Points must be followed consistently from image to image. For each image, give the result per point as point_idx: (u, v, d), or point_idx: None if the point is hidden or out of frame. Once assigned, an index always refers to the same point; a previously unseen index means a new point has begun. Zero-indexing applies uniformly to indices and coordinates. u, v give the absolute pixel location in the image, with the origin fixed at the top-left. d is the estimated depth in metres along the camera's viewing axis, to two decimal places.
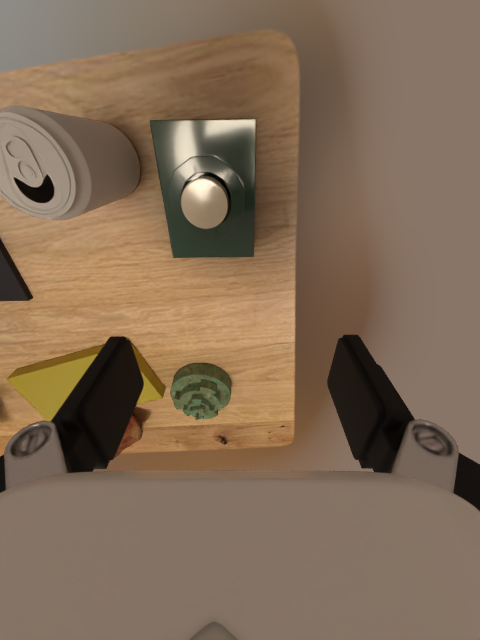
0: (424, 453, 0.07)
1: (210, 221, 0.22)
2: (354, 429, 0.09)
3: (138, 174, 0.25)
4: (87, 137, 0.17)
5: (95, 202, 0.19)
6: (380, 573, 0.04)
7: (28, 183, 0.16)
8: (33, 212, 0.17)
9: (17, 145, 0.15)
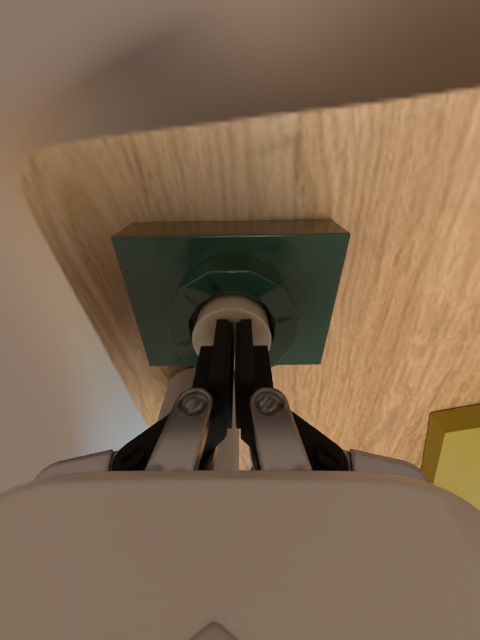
0: (270, 417, 0.07)
1: (259, 335, 0.12)
2: None
3: None
4: None
5: None
6: (380, 573, 0.04)
7: None
8: None
9: None
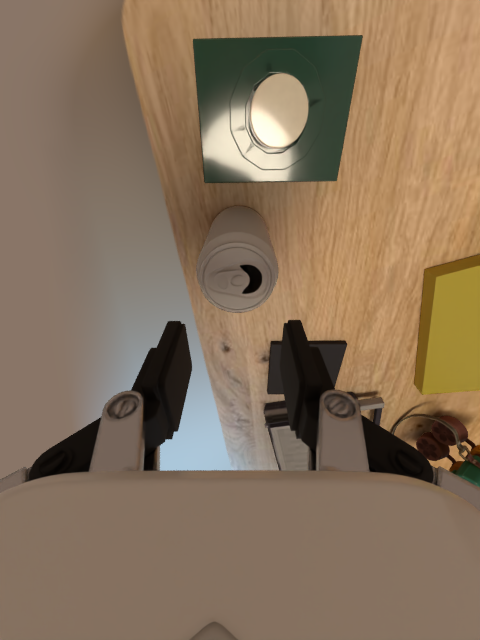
0: (337, 420, 0.07)
1: (299, 104, 0.17)
2: (290, 404, 0.10)
3: (248, 208, 0.25)
4: (215, 231, 0.20)
5: (266, 239, 0.19)
6: (380, 573, 0.04)
7: (247, 283, 0.19)
8: (269, 290, 0.19)
9: (220, 280, 0.19)
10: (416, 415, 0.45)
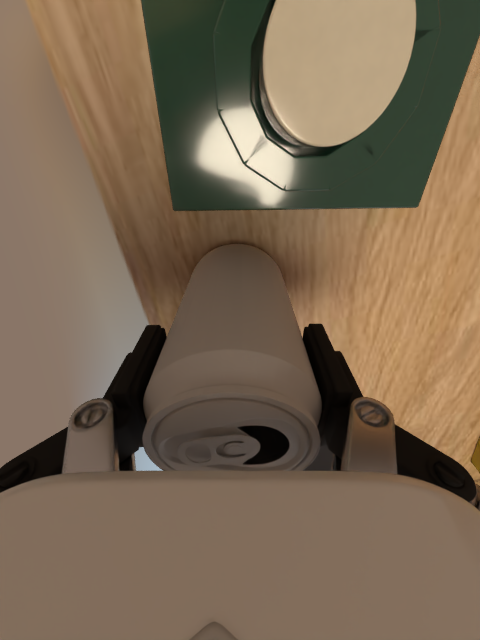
0: (368, 428, 0.07)
1: (393, 32, 0.06)
2: None
3: (252, 248, 0.15)
4: (186, 324, 0.09)
5: (295, 345, 0.09)
6: (380, 573, 0.04)
7: (254, 452, 0.08)
8: (303, 461, 0.08)
9: (193, 447, 0.08)
10: None
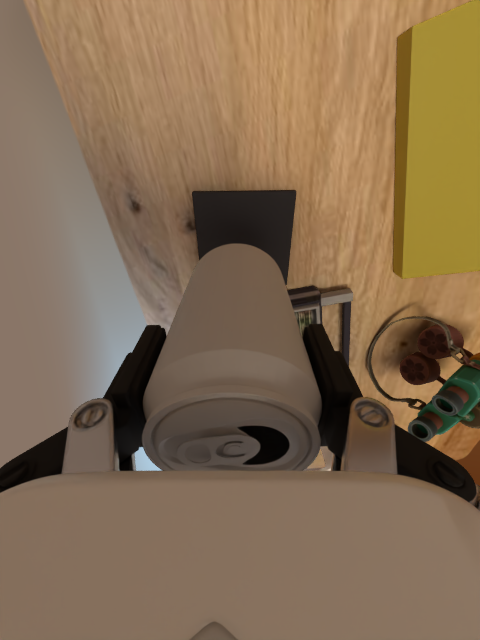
0: (368, 428, 0.07)
1: None
2: None
3: (252, 248, 0.15)
4: (186, 323, 0.09)
5: (295, 345, 0.09)
6: (380, 573, 0.04)
7: (253, 452, 0.08)
8: (303, 461, 0.08)
9: (192, 447, 0.08)
10: (397, 320, 0.35)
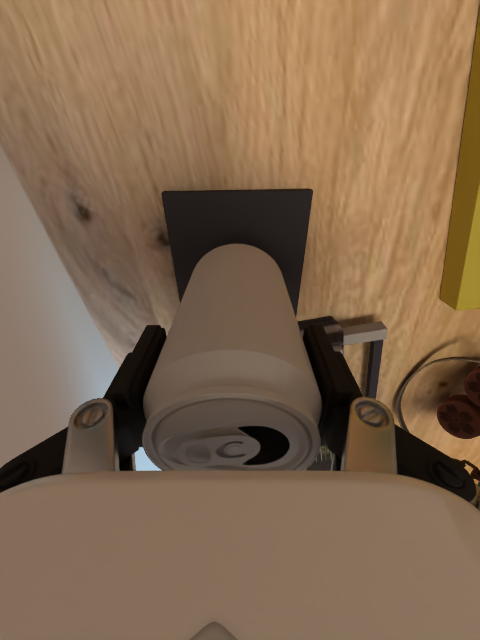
0: (368, 428, 0.07)
1: None
2: None
3: (252, 248, 0.15)
4: (186, 324, 0.09)
5: (295, 345, 0.09)
6: (380, 573, 0.04)
7: (254, 452, 0.08)
8: (303, 462, 0.08)
9: (193, 447, 0.08)
10: (441, 360, 0.26)
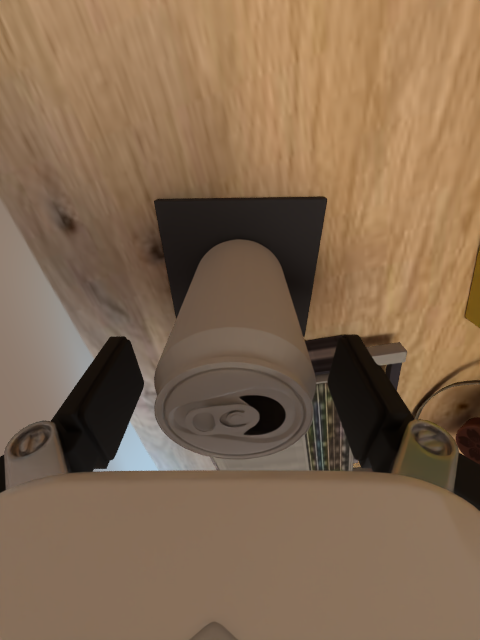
0: (424, 452, 0.07)
1: None
2: (354, 429, 0.09)
3: (254, 243, 0.16)
4: (193, 308, 0.10)
5: (292, 327, 0.10)
6: (380, 573, 0.04)
7: (254, 422, 0.09)
8: (298, 431, 0.09)
9: (199, 416, 0.09)
10: (463, 383, 0.24)
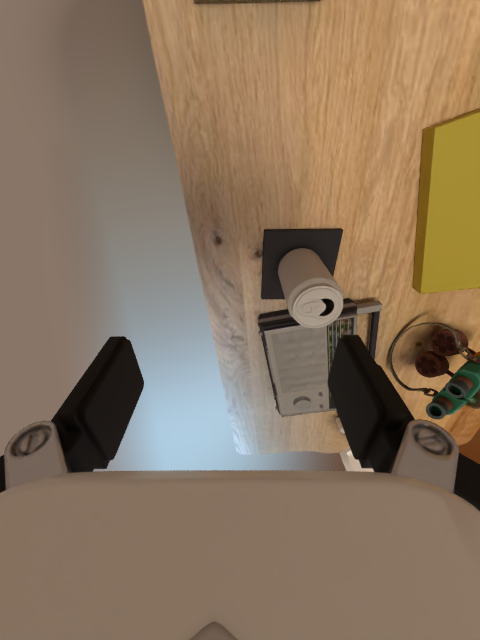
0: (424, 453, 0.07)
1: None
2: (354, 429, 0.09)
3: (309, 250, 0.35)
4: (300, 274, 0.29)
5: (334, 280, 0.29)
6: (380, 573, 0.04)
7: (323, 310, 0.28)
8: (337, 313, 0.29)
9: (306, 307, 0.28)
10: (415, 325, 0.43)
